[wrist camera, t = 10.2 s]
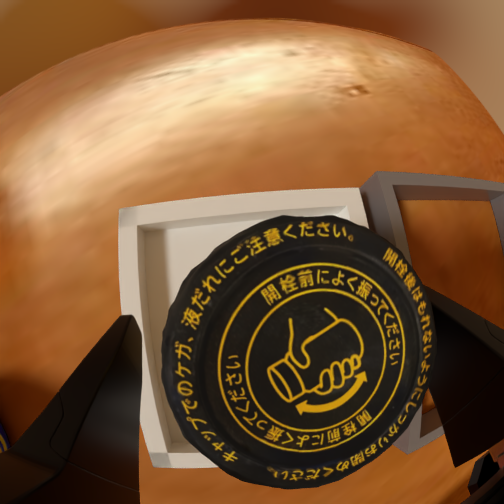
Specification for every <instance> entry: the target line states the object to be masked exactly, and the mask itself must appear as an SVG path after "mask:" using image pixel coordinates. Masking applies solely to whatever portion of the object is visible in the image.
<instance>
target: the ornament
mask: <svg viewBox="0 0 504 504" xmlns="http://www.w3.org/2000/svg"><path fill="white" fill-rule="evenodd" d="M9 448H11V447H10V444H9V441H8V438H7V435H6V433H5V431H4V429H3V427H2V425H1V423H0V453H1V452H4V451H6V450H8V449H9Z"/></svg>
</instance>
